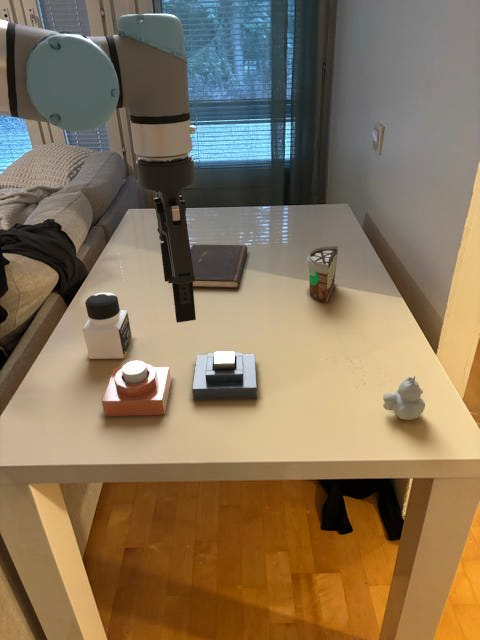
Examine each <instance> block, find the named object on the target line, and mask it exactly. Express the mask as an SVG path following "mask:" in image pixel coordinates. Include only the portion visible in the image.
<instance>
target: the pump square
mask: <svg viewBox="0 0 480 640" xmlns="http://www.w3.org/2000/svg"><path fill="white" fill-rule="evenodd" d="M214 353H215V354H214V371H224V370H235V353H236V352H235V351H234V350H233V351H232V350H231V351H230V350H229V351H226V350H225V351H214Z"/></svg>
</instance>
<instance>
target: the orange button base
mask: <svg viewBox="0 0 480 640" xmlns="http://www.w3.org/2000/svg"><path fill="white" fill-rule="evenodd" d="M144 363H145V364H146V368H147V374H148V376H147V378H146V379H145V380H144V381H142V382H139V383H134V384H129V383H126V382H125V381H124V377H123V372H122V367H115V368H113V370H112V373H111V375H110V378H109V380H108V382H107V385H106V389H105V391H104V394H103V397H102V399H101V405H102V409H103V413H104V417H113V416H114V417H115V416H116V417H117V416H118V417H119V416H120V417H121V416H122V417H123V416H158V415H160V416H161V415H165V414H166V409H167V403H168V399H169V395H170V394H169V393H170V390H171V389H170V388H171V383H172V377H171V370H170V369H171V368H170V366H153V364H152V365H151V364H149V363H147V362H144Z"/></svg>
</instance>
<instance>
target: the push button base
mask: <svg viewBox="0 0 480 640" xmlns="http://www.w3.org/2000/svg"><path fill="white" fill-rule="evenodd" d="M214 354H215V352H207V353H206V354H197V355H196V358H195V365H194V372H193V373H194V374H193V381H192V388H191V390H192V400H193V401H199V400H200V401H201V400H202V401H203V400H236V399H237V400H238V399H239V400H240V399H242V400H244V399H257V398H258V396H257V395H258V388H257V385H258V384H257V369H256V353H244V352H235V370H224V371H214Z"/></svg>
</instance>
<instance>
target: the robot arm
mask: <svg viewBox="0 0 480 640" xmlns="http://www.w3.org/2000/svg"><path fill="white" fill-rule="evenodd" d="M184 34H185V33H184V28H183V23H182V22H181V20H180V18H178V17H177V16H176V15H174V14H169V13H141V14H139V13H133V14H123V15H120V16H119V17H118V19H117V29H116V34H111V35H105V36H86V35H83V34H79V33H76V32H70V31H65V30H63V31H55V30H51V29H45V28H42V27H41V28H40V27H36V26H33V25H32V26H31V25H26V24H22V23H21V24H20V23H13V22H9V21H7V20H3V19H0V116H6V117H11V118H18V119H21V120H27V121H34V122H41V123H48V124H51V125H52V126H55V127H56V128H59V129H61V130H63V131H68V132H72V133H73V132H74V133H85V132H91V131H95V130H97V129H99V128H100V127H102V126H103V125H105V124H106V123H107V122H108V121H109V120H110V119H111V117H113V114H114V113H115V111H116V109H123V108H128V111H129V118H130V119H129V122H130V124H129V125H130V130H131V131H130V132H131V136H132V138H131V139H132V144H133V145H132V146H133V153H134V154H135V155H136V156H138V157H137V159H136V161H135V165H136V172H137V181H138V186H139V187H140V188H142V189H143V190H145V191H148V192H154V193H155V197H153V205H154V210H155V215H156V216H155V217H156V219H157V228H156V229H157V232H158V234H159V236H158V239H159V240H160V243H159V244H160V251H161V261H162V269H163V279H164V282H166V283H168V284H171V285H172V294H173V295H172V296H173V305H174V313H175V314H174V315H175V322H176V323H178V324H179V323H184V322H191V321H196V320H197V317H196V305H195V294H194V293H195V292H194V288H193V282H194V281H195V275H194V271H193V264H192V257H191V250H190V249H191V244H190V237H189V230H188V222H187V214H186V213H187V207H186V206H187V205H186V201H185V200H184V199H183V196H182V195H180V192H181V191H182V190H184V189H188V188H191V187H192V186H193V185H194V184H195V182H196V175H195V173H196V172H195V161H194V159H195V158H194V157H193V156H192V155H191V154H190V153H191V152H192V151H193V140H192V138H193V137H191V135H193V134H196V130H197V129H196V126H195V125H191V112H190V97H189V79H188V78H189V76H188V62H189V61H188V56H187V50H186V42H185V35H184Z"/></svg>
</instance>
